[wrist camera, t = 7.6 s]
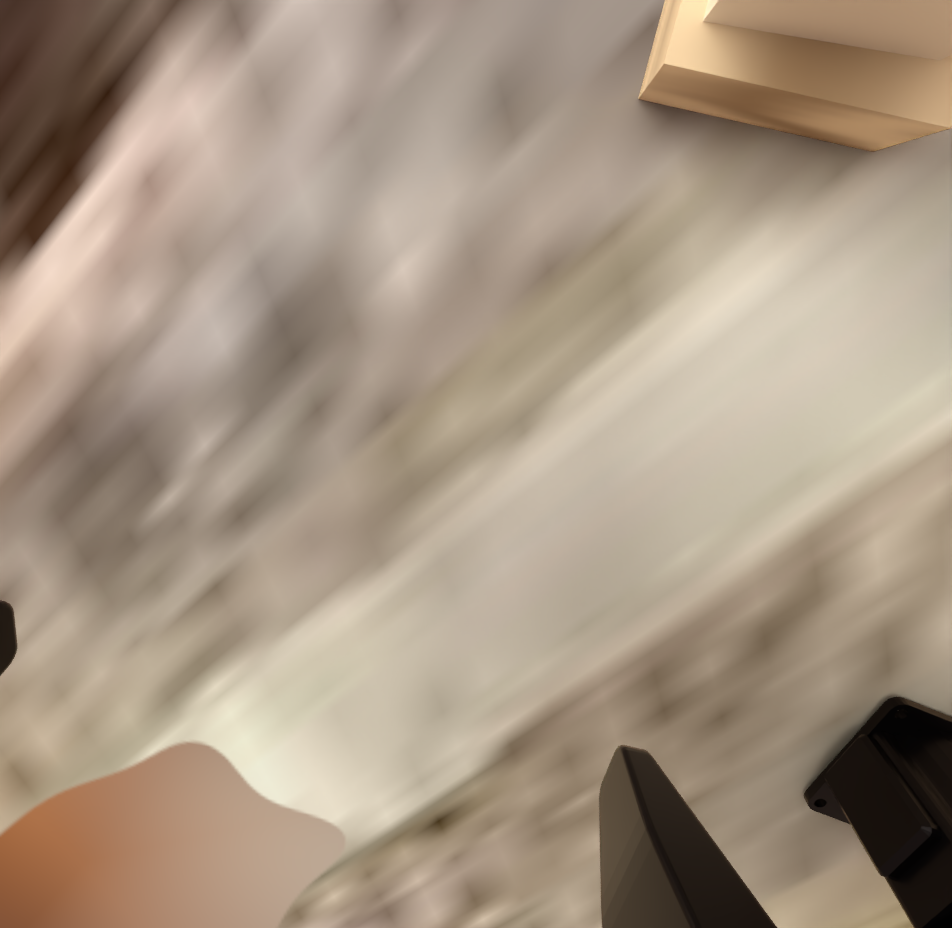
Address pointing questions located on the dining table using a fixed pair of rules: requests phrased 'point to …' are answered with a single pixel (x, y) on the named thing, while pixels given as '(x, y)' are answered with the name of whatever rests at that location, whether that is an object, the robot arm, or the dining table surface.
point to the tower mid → (848, 22)
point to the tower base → (795, 82)
